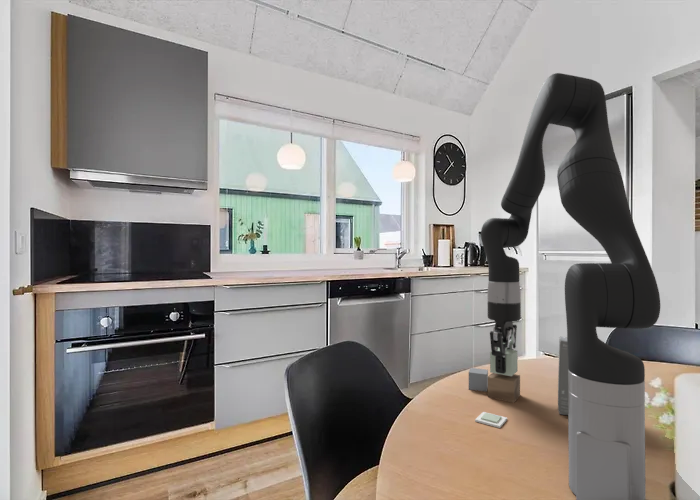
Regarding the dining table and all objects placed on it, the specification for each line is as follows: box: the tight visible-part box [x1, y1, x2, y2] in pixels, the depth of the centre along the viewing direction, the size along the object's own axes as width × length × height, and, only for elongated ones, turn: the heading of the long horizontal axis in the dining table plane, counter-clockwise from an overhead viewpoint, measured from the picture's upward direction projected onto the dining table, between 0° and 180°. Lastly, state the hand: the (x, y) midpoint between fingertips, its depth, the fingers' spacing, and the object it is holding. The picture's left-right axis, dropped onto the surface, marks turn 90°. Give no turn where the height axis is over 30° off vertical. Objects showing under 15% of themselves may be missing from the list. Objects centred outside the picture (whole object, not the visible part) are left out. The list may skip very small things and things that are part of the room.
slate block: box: [468, 367, 489, 393], centre depth 100 cm, size 4×4×4 cm
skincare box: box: [557, 336, 568, 416], centre depth 85 cm, size 8×7×16 cm
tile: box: [474, 411, 508, 429], centre depth 81 cm, size 5×5×1 cm
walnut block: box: [487, 373, 521, 403], centre depth 94 cm, size 6×6×5 cm
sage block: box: [489, 348, 518, 376], centre depth 94 cm, size 5×5×5 cm
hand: (504, 369), depth 94 cm, fingers closed on sage block, 5 cm apart
